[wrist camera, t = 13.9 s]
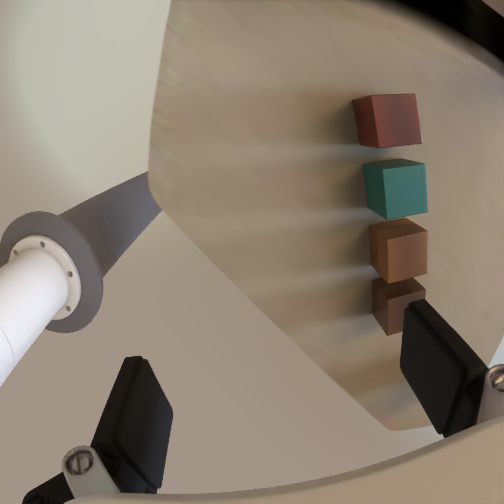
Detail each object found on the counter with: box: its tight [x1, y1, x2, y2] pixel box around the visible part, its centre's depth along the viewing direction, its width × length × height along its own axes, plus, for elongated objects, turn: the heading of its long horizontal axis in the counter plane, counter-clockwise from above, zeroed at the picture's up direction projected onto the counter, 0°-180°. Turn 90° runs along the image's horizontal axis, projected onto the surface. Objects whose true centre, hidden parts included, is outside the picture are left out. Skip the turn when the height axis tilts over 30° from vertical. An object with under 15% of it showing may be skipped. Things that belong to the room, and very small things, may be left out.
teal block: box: [363, 159, 428, 220], centre depth 31 cm, size 5×5×5 cm
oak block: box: [369, 218, 428, 284], centre depth 33 cm, size 5×5×5 cm
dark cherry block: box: [353, 94, 422, 148], centre depth 28 cm, size 5×5×5 cm
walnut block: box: [372, 277, 426, 336], centre depth 35 cm, size 5×5×5 cm
